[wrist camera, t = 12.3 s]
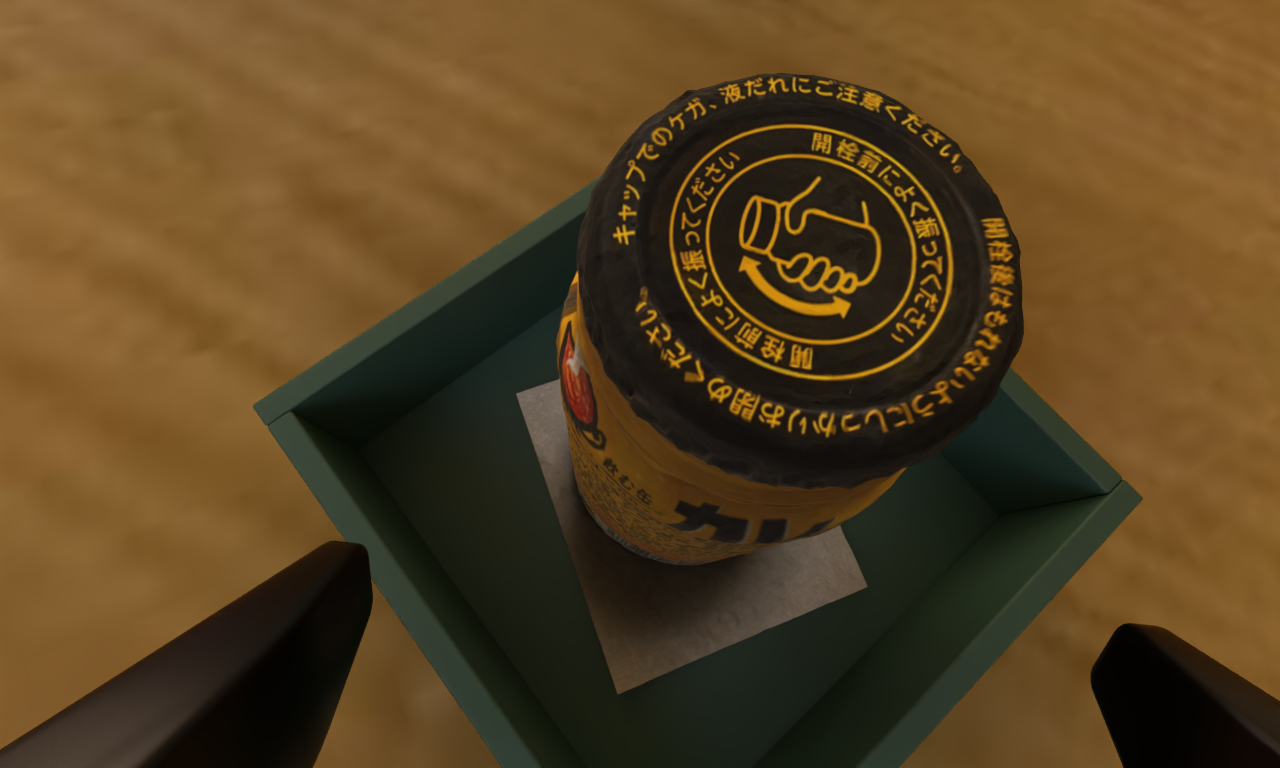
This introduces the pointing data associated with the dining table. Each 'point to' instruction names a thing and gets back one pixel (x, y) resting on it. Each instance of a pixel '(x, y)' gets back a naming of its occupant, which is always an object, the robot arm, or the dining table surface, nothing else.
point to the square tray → (549, 585)
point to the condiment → (762, 355)
